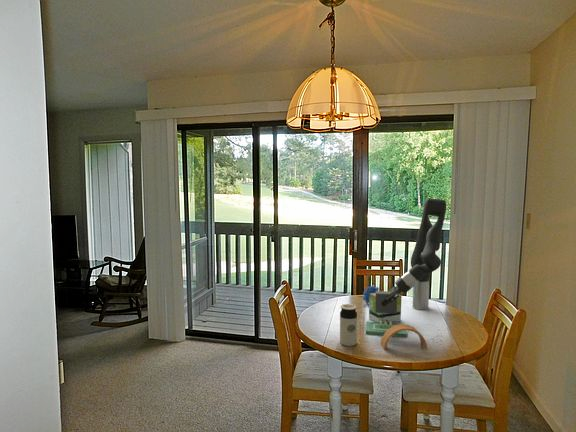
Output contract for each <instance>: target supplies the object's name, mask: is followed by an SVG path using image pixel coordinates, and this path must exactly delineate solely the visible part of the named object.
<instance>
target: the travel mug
mask: <svg viewBox="0 0 576 432" xmlns="http://www.w3.org/2000/svg"><path fill="white" fill-rule="evenodd" d="M340 308H341V311H340V312H339V313H340V314H339V343H340V344H341V345H343V346H346V347H352V346H355V345H357V344H358V343H357V342H358V338H357V337H358V312H357V310H356V309H357V306H356V305H355V304H351V303H345V304H342V305H340Z"/></svg>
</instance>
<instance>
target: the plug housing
mask: <svg viewBox="0 0 576 432" xmlns="http://www.w3.org/2000/svg"><path fill="white" fill-rule="evenodd" d="M388 291H389V290H388ZM388 291H385V290H384V291H383V290H382V291H381V290H378V291H376V313H391V314H397V298H396V299H395V300H394V301H393V302H389V303H388V304H387V305H386V306H385V307H383V306H382V305H381V303H382V302H383V301H384V300H385V299H386V298H387V297H388V296H389V294H390V293H391V292H388ZM391 295H393V294H391ZM390 299H392V298H390Z"/></svg>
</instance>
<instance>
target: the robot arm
mask: <svg viewBox="0 0 576 432" xmlns="http://www.w3.org/2000/svg"><path fill="white" fill-rule="evenodd" d="M446 212H447V201H446V200H444V199H441V198H440V199H439V198H433V197H432V198H431V197H428V198H426V199H425V200H424V204H423V210H422V215H421V221H420V225H419V228H418V230H417V231H418V233H417V236H416V240H415V241H416V242H415V245H414V246H415V247H414V248H413V252H412V254H411V257H410V269H408V271H406V272H404V274H402V276H400V277H399V278H398V279H397V280H395V282H394V283H395V285H394V286H393V287H391V288H390V290H388V291H389V292H391V293H390V294H389V296H388V297H387V298H386V299H385V300H384V301H383V302H382V303H381V305H382V306H383V307H385V306H386V305H387V304H388V303H389V302H393V301H394V300H395V299H396V298H398V297H399V295H401V293H403V294H407V293H408V292H409V291H410V290H411V289H412V308H413V309H416V310H419V311H420V310H422V311H423V310H428V309H429V302H430V301H429V300H430V274H431V273H434V272H435V271H436V270H438V269H439V268H440V267H441V264H442V260H441V258H440V257H439V256H438V255H437V254H436V252H438V251H439V250H440V248H441V239H442V237H441V236H442V230H443V227H444V222H445V217H446ZM430 216H433V217H437V220H436V222H435V223H434V224H432V222H431V220H430ZM391 294H393V295H391ZM390 298H392V299H390Z"/></svg>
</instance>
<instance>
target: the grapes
mask: <svg viewBox="0 0 576 432" xmlns="http://www.w3.org/2000/svg"><path fill="white" fill-rule="evenodd" d="M379 289H380V288H379V287H378V286H376V285H374V284H372V285H371V286H367V287H366V290H364V291H363V293H362V294H363V297H362V300H363V301H364V302H365V304H368V305H369V297H370V294H372V293H376V291H380V290H379Z"/></svg>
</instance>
